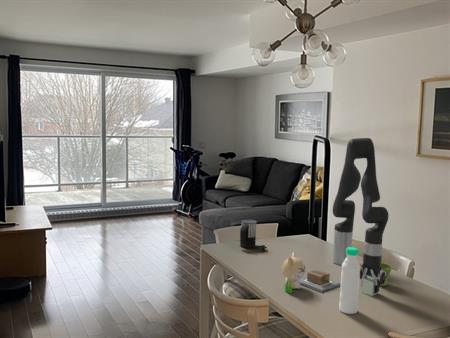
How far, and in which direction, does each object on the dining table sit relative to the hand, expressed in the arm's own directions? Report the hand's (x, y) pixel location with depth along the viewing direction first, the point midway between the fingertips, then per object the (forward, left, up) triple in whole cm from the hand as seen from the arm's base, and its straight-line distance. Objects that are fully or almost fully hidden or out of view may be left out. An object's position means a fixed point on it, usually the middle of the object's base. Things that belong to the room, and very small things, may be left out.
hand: (369, 290), depth 194 cm
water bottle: (+24, +5, -1) cm, 25 cm away
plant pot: (-14, -3, -1) cm, 14 cm away
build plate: (+10, -20, -1) cm, 22 cm away
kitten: (+23, -24, -1) cm, 33 cm away
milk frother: (-7, -79, -1) cm, 79 cm away
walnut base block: (+10, -20, 0) cm, 22 cm away
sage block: (0, 0, -1) cm, 1 cm away
